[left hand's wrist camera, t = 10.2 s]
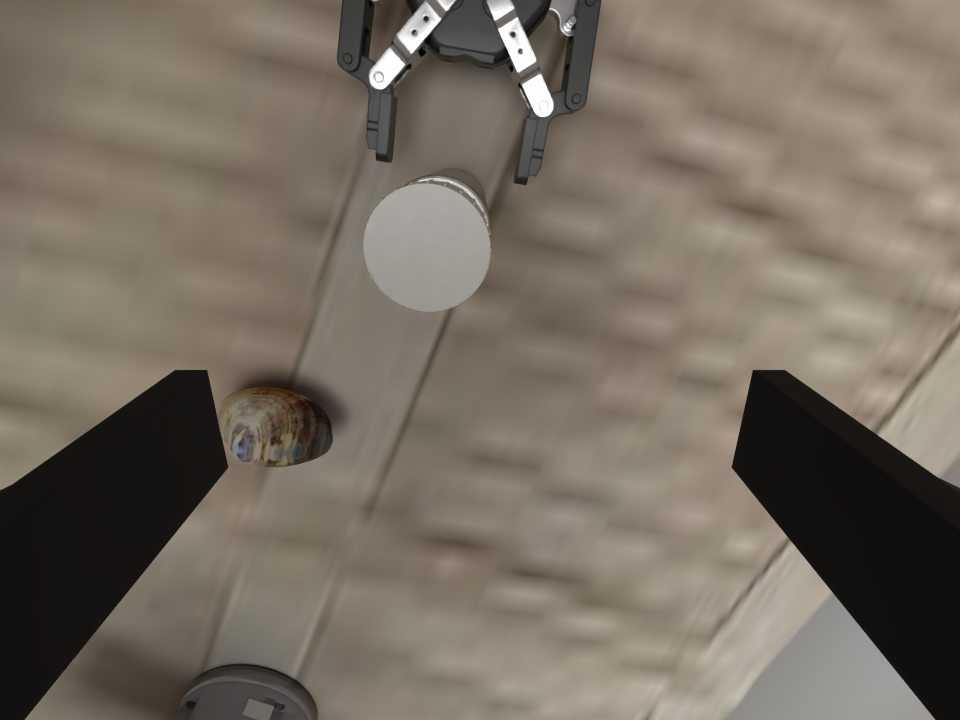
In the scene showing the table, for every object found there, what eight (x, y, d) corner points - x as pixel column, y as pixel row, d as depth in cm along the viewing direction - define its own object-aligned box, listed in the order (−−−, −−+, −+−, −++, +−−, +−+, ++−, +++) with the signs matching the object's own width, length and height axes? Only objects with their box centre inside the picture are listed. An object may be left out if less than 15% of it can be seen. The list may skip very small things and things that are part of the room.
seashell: (232, 419, 45) (184, 470, 38) (240, 362, 43) (190, 404, 36) (338, 445, 46) (311, 500, 39) (350, 390, 44) (324, 437, 37)
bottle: (426, 238, 40) (374, 318, 20) (417, 171, 38) (349, 186, 18) (488, 232, 39) (499, 306, 19) (482, 165, 38) (487, 171, 18)
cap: (385, 301, 22) (373, 319, 19) (365, 185, 20) (350, 188, 18) (495, 290, 21) (497, 307, 19) (484, 173, 20) (486, 174, 17)
